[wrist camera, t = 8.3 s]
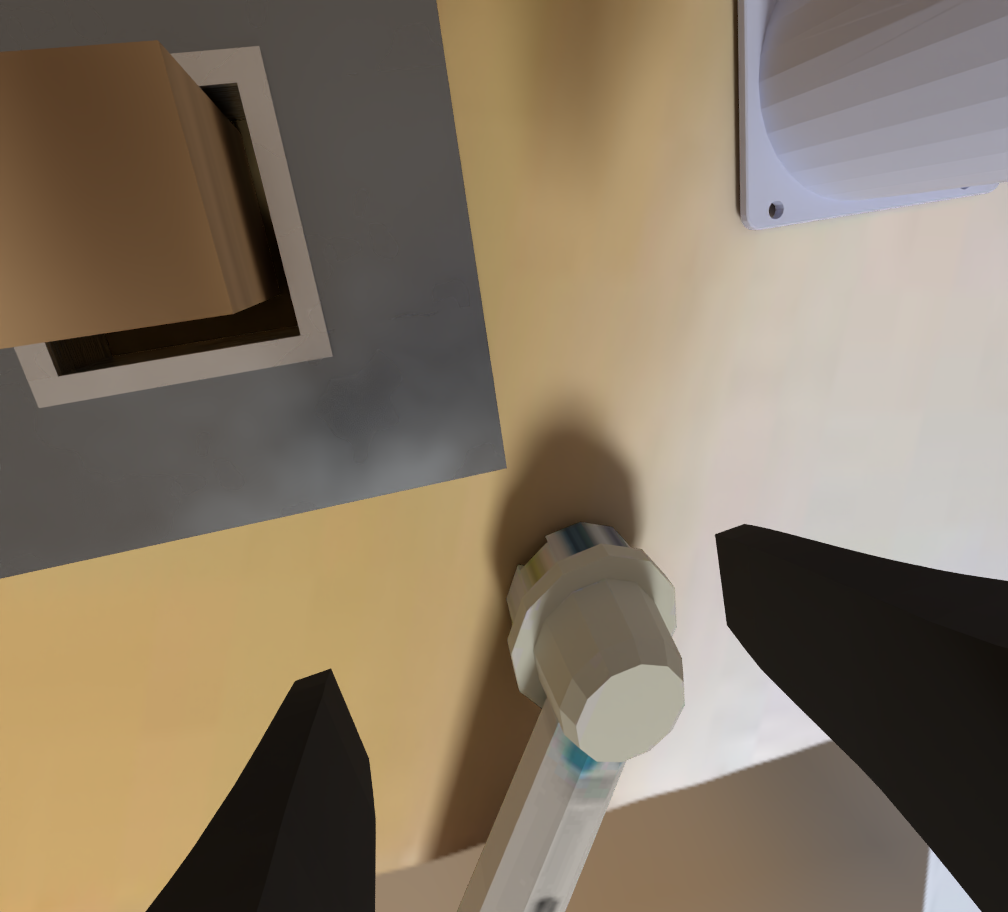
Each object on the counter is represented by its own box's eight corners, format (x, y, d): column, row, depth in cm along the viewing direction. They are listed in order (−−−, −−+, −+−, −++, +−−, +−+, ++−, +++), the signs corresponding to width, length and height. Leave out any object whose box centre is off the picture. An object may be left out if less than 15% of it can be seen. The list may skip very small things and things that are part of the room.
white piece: (380, 1158, 23) (594, 644, 14) (378, 956, 29) (528, 502, 20) (510, 1138, 24) (780, 661, 15) (483, 949, 30) (667, 524, 21)
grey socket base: (397, -106, 15) (407, -199, 12) (484, 438, 19) (508, 470, 16) (-288, -73, 12) (-492, -180, 9) (-2, 539, 17) (-78, 598, 14)
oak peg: (241, 133, 15) (158, 40, 9) (280, 294, 17) (233, 313, 10) (70, 151, 15) (-153, 63, 8) (125, 317, 16) (-30, 353, 10)
